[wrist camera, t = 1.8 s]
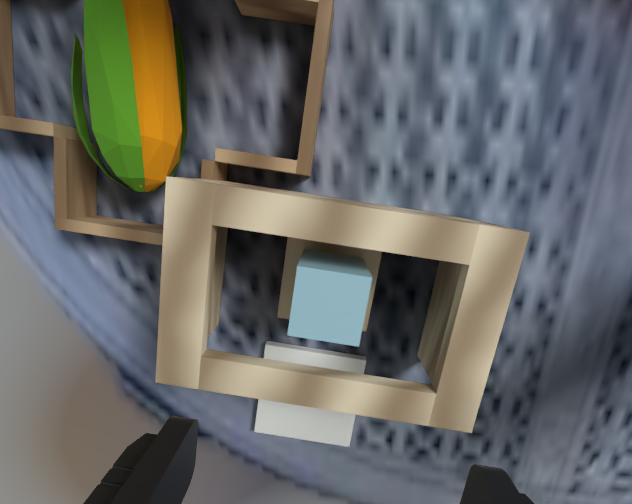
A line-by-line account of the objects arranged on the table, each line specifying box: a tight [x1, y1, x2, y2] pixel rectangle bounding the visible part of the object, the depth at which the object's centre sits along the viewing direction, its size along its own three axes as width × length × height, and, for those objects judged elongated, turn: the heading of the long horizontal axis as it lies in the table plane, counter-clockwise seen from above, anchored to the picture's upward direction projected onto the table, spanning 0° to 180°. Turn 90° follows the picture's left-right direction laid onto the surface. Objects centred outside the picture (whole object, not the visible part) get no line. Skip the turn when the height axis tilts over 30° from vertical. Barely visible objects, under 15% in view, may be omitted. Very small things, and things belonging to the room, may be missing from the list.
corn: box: [71, 0, 187, 192], centre depth 24 cm, size 7×8×20 cm
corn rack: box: [0, 0, 334, 246], centre depth 26 cm, size 28×28×4 cm
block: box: [287, 249, 372, 347], centre depth 24 cm, size 5×5×6 cm
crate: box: [155, 176, 530, 433], centre depth 25 cm, size 22×14×10 cm, turn 81°
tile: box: [254, 341, 366, 447], centre depth 32 cm, size 10×10×1 cm
